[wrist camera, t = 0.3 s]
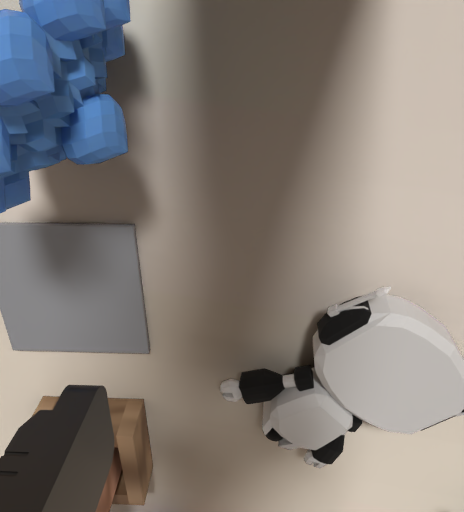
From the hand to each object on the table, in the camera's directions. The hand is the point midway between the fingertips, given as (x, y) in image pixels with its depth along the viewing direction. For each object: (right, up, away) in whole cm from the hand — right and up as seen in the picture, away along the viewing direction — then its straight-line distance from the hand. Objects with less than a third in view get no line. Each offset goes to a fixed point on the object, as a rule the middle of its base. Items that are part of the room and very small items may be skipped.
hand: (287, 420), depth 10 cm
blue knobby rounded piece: (-8, +13, +14) cm, 21 cm away
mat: (-12, +1, +20) cm, 24 cm away
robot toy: (+7, -4, +23) cm, 24 cm away
